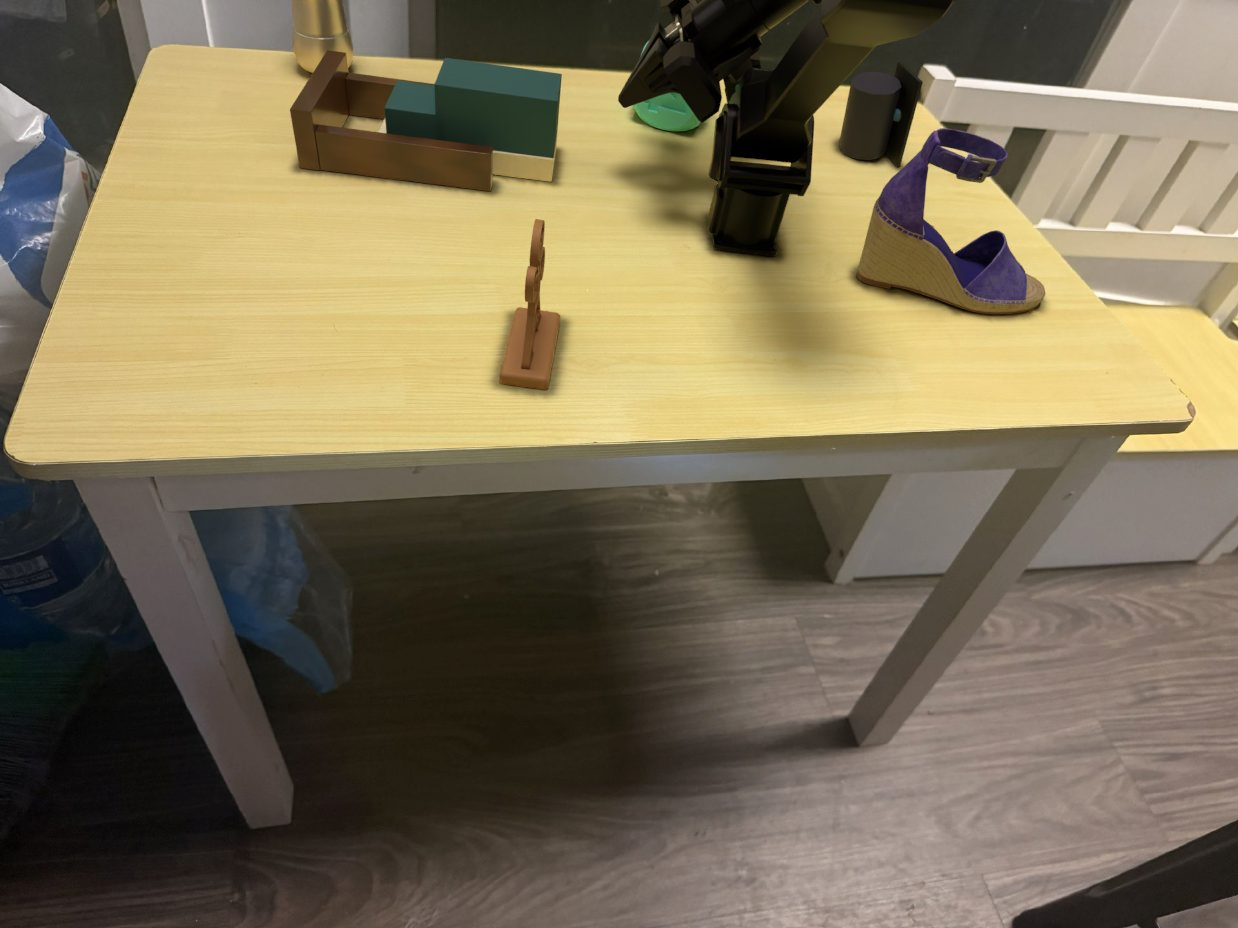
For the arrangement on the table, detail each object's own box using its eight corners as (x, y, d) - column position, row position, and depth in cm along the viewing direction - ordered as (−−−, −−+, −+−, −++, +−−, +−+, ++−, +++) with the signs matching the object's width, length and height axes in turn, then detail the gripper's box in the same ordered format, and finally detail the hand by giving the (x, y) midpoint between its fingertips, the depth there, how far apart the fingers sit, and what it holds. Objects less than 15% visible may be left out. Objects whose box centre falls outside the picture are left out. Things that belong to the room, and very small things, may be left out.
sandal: (1048, 330, 80) (1140, 190, 69) (848, 289, 80) (908, 143, 69) (1033, 282, 85) (1116, 146, 74) (846, 245, 85) (900, 103, 74)
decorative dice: (691, 138, 97) (705, 70, 91) (628, 121, 98) (637, 52, 92) (707, 112, 102) (721, 45, 96) (646, 95, 103) (657, 28, 97)
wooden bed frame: (505, 128, 93) (506, 74, 88) (490, 192, 83) (491, 135, 79) (334, 105, 91) (327, 50, 87) (299, 168, 82) (289, 109, 77)
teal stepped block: (556, 150, 91) (562, 72, 85) (551, 182, 86) (557, 102, 80) (391, 128, 89) (385, 47, 83) (378, 160, 85) (370, 77, 78)
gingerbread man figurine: (515, 314, 71) (520, 188, 62) (560, 321, 71) (571, 195, 62) (498, 383, 65) (502, 253, 56) (547, 390, 65) (558, 262, 56)
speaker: (895, 144, 103) (920, 59, 95) (900, 168, 99) (926, 83, 91) (834, 139, 103) (854, 55, 95) (836, 163, 99) (857, 77, 91)
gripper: (808, 115, 75) (668, 208, 82) (784, 36, 87) (664, 123, 94) (744, 9, 68) (598, 121, 75) (728, -59, 81) (604, 42, 88)
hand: (620, 103), depth 83 cm, fingers closed
